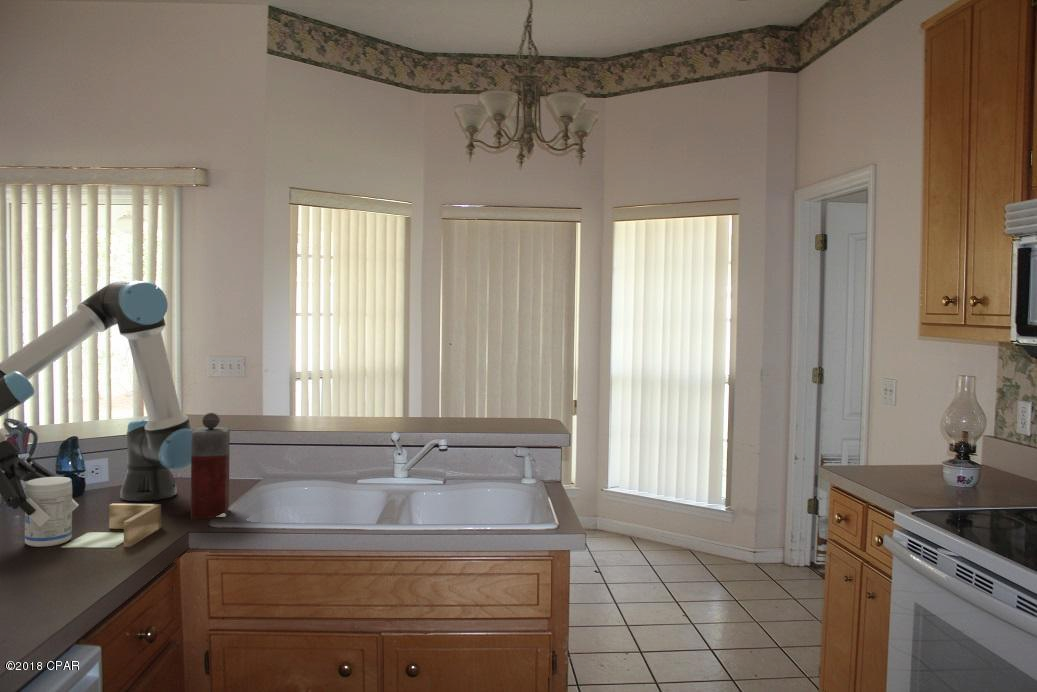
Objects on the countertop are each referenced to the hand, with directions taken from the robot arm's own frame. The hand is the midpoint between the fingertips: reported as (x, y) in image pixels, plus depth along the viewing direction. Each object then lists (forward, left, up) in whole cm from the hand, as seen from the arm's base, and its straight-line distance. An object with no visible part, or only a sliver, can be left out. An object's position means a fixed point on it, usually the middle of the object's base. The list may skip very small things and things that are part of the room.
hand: (60, 515), depth 179 cm
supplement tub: (+1, -2, -6) cm, 7 cm away
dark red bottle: (-37, +8, -6) cm, 38 cm away
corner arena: (-9, +7, -6) cm, 13 cm away
